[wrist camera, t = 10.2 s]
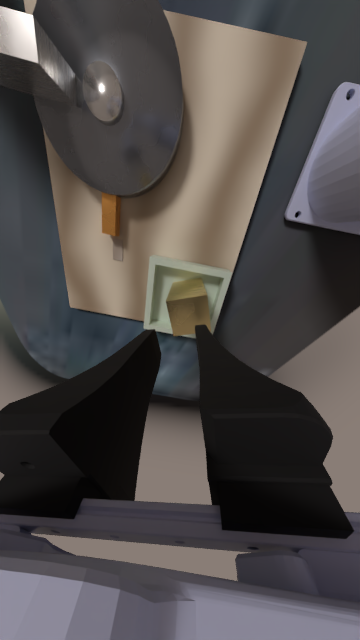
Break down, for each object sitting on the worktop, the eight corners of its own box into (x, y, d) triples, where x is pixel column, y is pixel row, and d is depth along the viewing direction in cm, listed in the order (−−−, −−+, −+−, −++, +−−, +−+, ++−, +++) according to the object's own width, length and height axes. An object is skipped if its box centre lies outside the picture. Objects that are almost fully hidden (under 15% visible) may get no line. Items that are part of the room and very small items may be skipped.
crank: (0, -42, 9) (-144, -252, 5) (200, 18, 10) (205, -136, 6) (40, 216, 15) (-14, 208, 11) (163, 247, 16) (153, 250, 12)
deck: (299, 55, 11) (308, 40, 10) (212, 331, 21) (212, 334, 20) (32, -4, 10) (18, -24, 10) (74, 304, 20) (69, 307, 20)
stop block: (201, 277, 17) (207, 294, 11) (204, 304, 18) (211, 331, 12) (172, 282, 17) (165, 301, 12) (177, 308, 18) (173, 336, 13)
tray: (228, 269, 16) (232, 272, 15) (209, 333, 20) (210, 341, 18) (153, 254, 16) (149, 256, 15) (147, 321, 20) (143, 328, 18)
